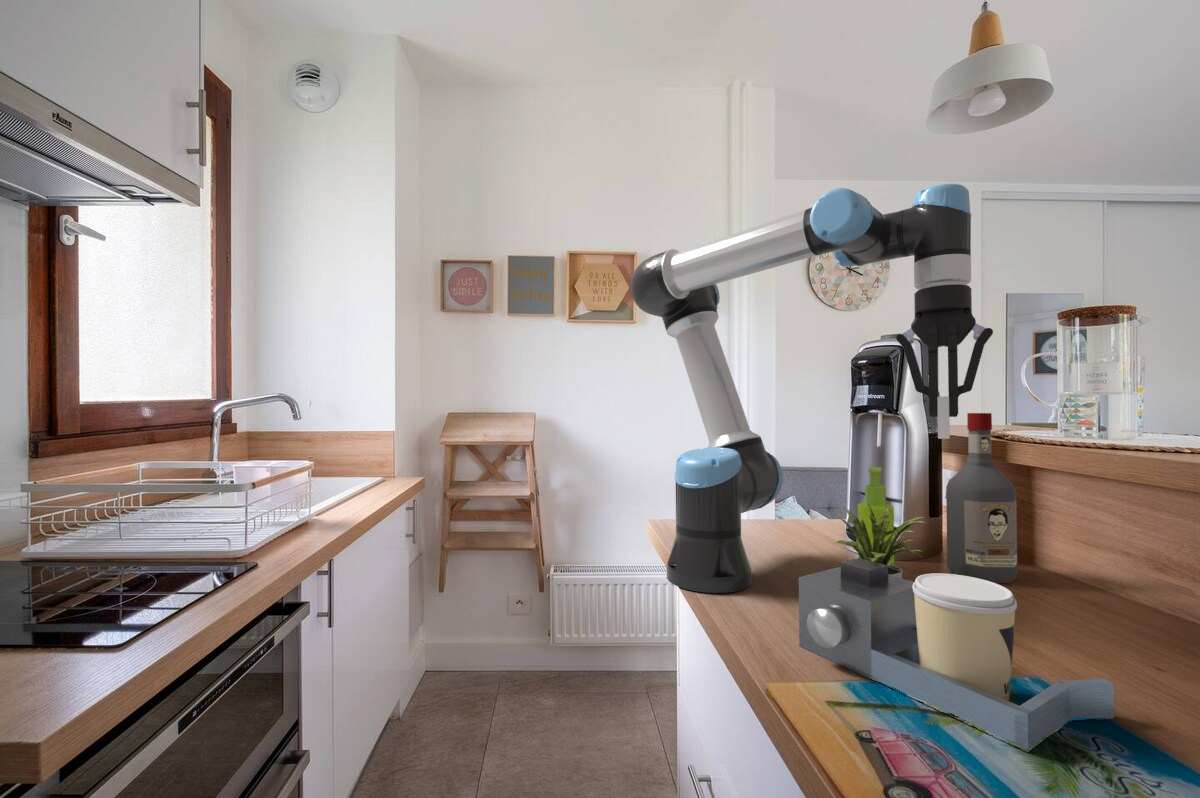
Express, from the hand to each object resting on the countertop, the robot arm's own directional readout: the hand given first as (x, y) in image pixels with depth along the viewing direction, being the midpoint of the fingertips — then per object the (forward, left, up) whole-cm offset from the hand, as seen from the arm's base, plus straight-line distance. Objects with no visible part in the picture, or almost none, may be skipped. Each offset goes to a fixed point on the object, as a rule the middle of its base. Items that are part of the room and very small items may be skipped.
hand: (943, 438), depth 83 cm
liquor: (+5, +22, -27) cm, 35 cm away
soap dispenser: (-11, +11, -27) cm, 31 cm away
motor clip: (-1, -26, -26) cm, 37 cm away
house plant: (-8, -7, -27) cm, 29 cm away
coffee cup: (+2, -29, -27) cm, 39 cm away
